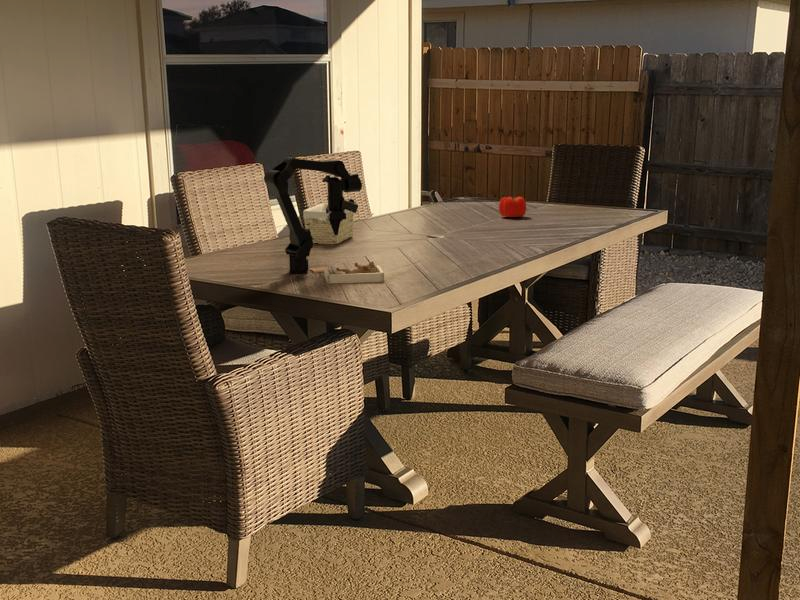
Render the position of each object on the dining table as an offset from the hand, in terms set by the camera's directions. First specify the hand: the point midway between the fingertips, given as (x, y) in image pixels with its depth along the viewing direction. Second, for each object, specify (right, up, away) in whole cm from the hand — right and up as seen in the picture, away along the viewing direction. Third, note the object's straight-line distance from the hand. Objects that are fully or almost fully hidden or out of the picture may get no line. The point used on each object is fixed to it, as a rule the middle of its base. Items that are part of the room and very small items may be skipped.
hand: (336, 235), depth 363 cm
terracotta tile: (-6, -14, -5) cm, 16 cm away
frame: (+7, -17, -19) cm, 26 cm away
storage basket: (-7, +2, +61) cm, 62 cm away
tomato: (+81, +17, +123) cm, 148 cm away
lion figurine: (+6, -13, -15) cm, 20 cm away
